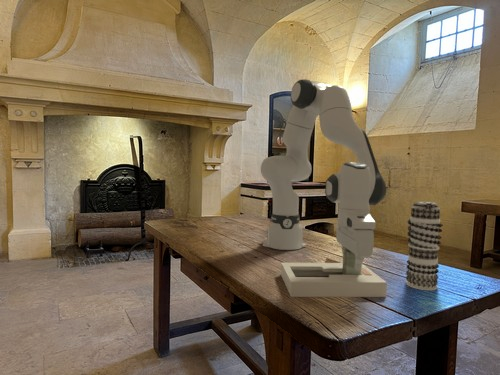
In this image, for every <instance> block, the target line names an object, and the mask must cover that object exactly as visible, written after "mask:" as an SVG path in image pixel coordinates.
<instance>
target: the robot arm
mask: <svg viewBox="0 0 500 375" xmlns="http://www.w3.org/2000/svg"><path fill="white" fill-rule="evenodd" d="M290 101H291V103H292V105H293V106H292V108H291V109H290V111H289V115H288V117H287V121H286V122H285V128H284V130H283V133H282V143H283V145H285V147H286V148H285V149H286V153H285V155H273V156H269V157H265V158H264V159H263V161H262V162H261V165H260V174H261V176H262V178H263V179H264V180H265V181H266V182H267V183H268V186H269V187H270V188H269V189H270V190H271V194H272V213H271V217H270V218H271V219H270V221H271V223H270V225H268V228H266V229H265V235H266V237H265V239H264V240H263V243H262V246H263V247H264V248H269V249H275V250H281V251H294V250H299V249H301V248H306V247H307V244H306V243H305V242H303V237H304V236H303V226H301V225H300V220H301V219H300V214H299V206H300V203H299V202H300V198H299V194H297V192H295V191H294V189H293V185H292V182H293V183H294V182H295V183H296V182H297V183H299V182H301V181H305V180H307V179H309V177H310V176H311V174H312V170H313V169H312V168H313V167H312V164H311V162H310V160H309V157H308V156H309V154H308V152H309V150H308V149H309V145H310V141H311V137H312V133H313V130H314V127H315V123H316V121H317V117H318V118H319V127H320V131H321V134H322V135H323V136H324V137H325V138H326V139H327V140H329V142H332V143H334V144H338V145H341V146H343V147H345V148H348V149H349V150H351V151H352V152H353V153H354V154H355V156H356V157H357V161H358V162H354V161H347V162H345V163H343V164H342V165H341V167H340V170H339V171H337V172H336V173H332V174H331V175H329V177H327V179H325V189H324V191H325V192H324V193H325V196H326V198H327V199H328V200H329V201H330V202H331V203H335V204H338V208H337V210H338V211H337V226H336V242H337V243H338V244H340V245H341V251H342V252H341V253H342V254H343V249H348V250H349V251H351V252H352V253H353V254H355V258H356V259H355V263H354V269H355V270H361V269H362V264H363V262H364V260H365V258H366V259H367V258H371V256H372V254H373V250H374V244H375V242H374V239H375V233H374V230H375V229H376V228H377V222H376V221H375V219H374V218H373V216H372V214H371V207H370V206H376V205H378V204H379V203H381V201H382V200H384V198H386V194H387V185H386V182H385V180H384V178H383V176H382V174H381V172H380V170H379V167H378V164H377V160H376V158H375V155H374V151H373V147H372V145H371V143H370V140H369V137H368V136H367V133H366V132H365V130H364V129H362V128H361V127H360V126H359V124H358V123H357V122H356V121H355V118H354V116H353V115H354V114H353V109H352V102H351V100H350V97H349V95H348V91H347V90H346V89H345V87H343V86H341V85H337V84H336V85H332V84H329V83H326V82H319V81H314V80H313V81H312V80H310V79H307V78H306V79H303V78H302V79H298V80H297V81H296V82H295V83H294V84H293V86H292V88H291V92H290Z"/></svg>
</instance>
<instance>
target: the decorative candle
mask: <svg viewBox="0 0 500 375" xmlns="http://www.w3.org/2000/svg"><path fill="white" fill-rule="evenodd" d="M410 208H411V210H410V212H411V213H410V214H411V215H410V219H408V220H407V224H408V225H409V226H408V227H407V231H408V232H407V236H408V239H407V242H408V243H407V246H408V247H409V249H408V252H409V253H408V255H407V256H408V258H407V260H406V264H408V265H406V269H407V270H406V272H405V274H406V276H405V279H406V281H405V284H406V286H408V287H410V288H413V289H416V290H422V291H427V292H428V291H436V290H438V283H439V281H438V279H439V275H438V273H439V269H438V268H439V267H440V264H438V262H439V258H438V253H439V252H438V251H439V250H440V248H441V247H440V246H438V245H440V244H441V243H442V242H441V241H440V239H442V236H441V235H439V233H442V232H443V230H442V229H441V228H442V227H443V226H444V225H443V224H442V223H441V209H442V207H441V208H440V207H439V205H438V204H437V202H432V201H415V202H414V203H413V205H410Z"/></svg>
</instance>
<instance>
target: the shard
mask: <svg viewBox="0 0 500 375" xmlns="http://www.w3.org/2000/svg"><path fill="white" fill-rule="evenodd" d="M324 263H341V262H340V261H337V260H334V259H330V258H327V257H326V258H325V261H324Z"/></svg>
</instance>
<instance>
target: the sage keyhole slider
mask: <svg viewBox="0 0 500 375" xmlns="http://www.w3.org/2000/svg"><path fill="white" fill-rule="evenodd" d="M355 259H356V258H355V254H353V253H352V252H351V251H349V250H348V249H343V253H342V263H343V272H342V275H361V270H355V269H354V263H355Z"/></svg>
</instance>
